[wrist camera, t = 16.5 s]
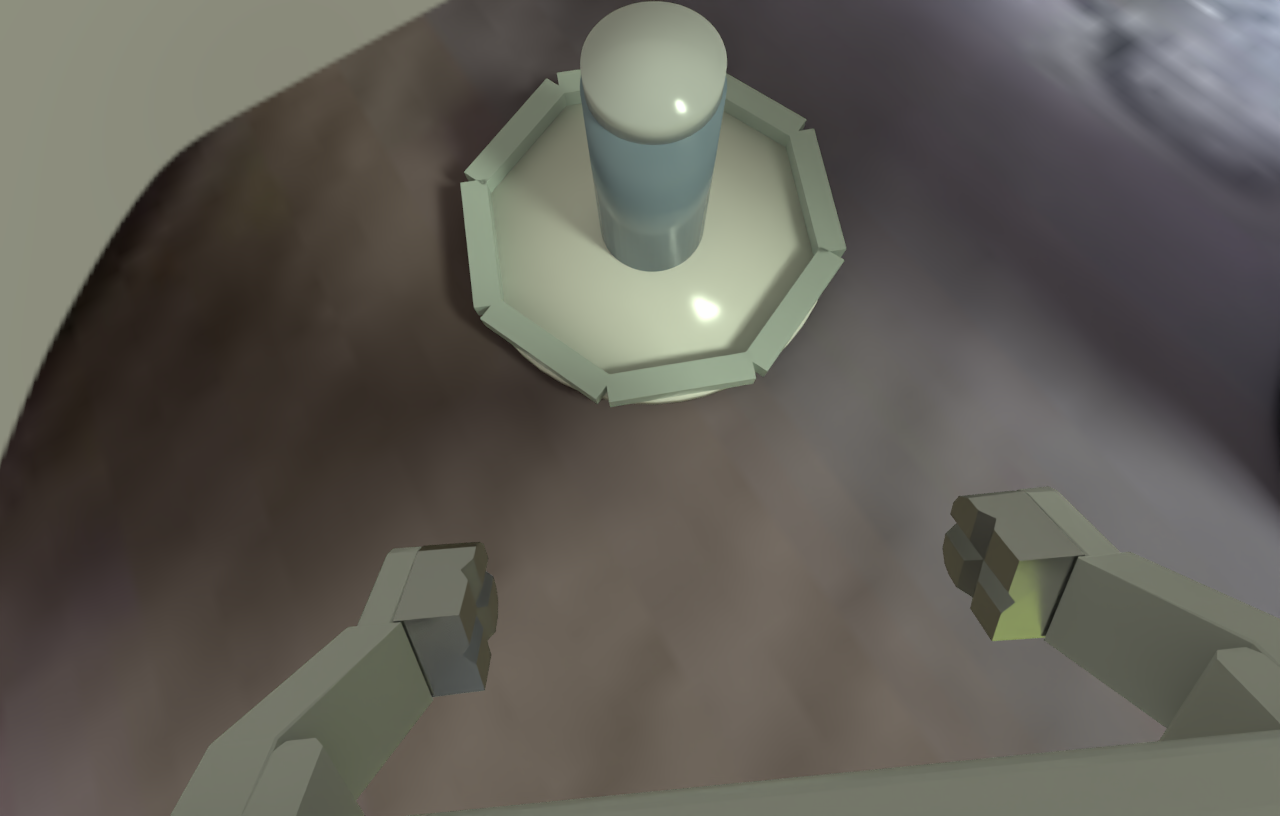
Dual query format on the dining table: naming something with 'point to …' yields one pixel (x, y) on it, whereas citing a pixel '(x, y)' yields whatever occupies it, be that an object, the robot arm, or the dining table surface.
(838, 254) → the plate
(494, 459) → the dining table surface
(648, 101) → the ball
